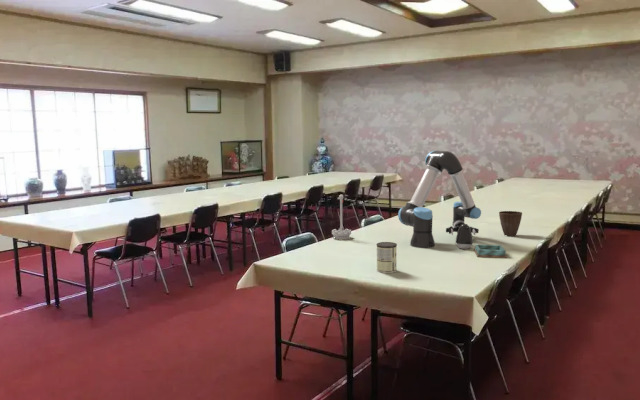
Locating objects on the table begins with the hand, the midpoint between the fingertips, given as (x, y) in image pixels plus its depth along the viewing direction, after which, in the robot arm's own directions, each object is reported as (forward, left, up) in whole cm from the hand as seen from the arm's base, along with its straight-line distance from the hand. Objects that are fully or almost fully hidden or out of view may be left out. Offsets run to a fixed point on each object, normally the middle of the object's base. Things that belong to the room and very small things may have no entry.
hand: (463, 232), depth 335 cm
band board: (+13, -24, -8) cm, 28 cm away
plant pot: (+35, +37, -8) cm, 51 cm away
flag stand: (-79, +15, -8) cm, 81 cm away
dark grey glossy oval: (0, -9, -8) cm, 12 cm away
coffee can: (-45, -69, -8) cm, 83 cm away
